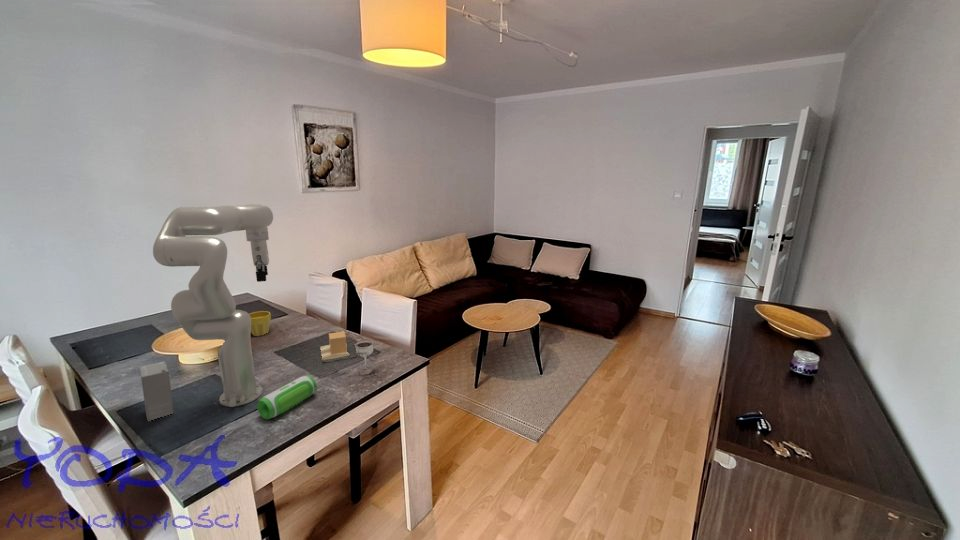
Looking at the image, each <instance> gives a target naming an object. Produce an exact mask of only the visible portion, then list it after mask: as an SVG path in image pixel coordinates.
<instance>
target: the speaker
mask: <svg viewBox="0 0 960 540" xmlns="http://www.w3.org/2000/svg"><path fill="white" fill-rule="evenodd" d="M317 387H318V386H317V381H316V380H315V379H314V378H313V377H312V376H311V375H304V376H301V377H298V378H297V379H295V380H292V381H291V382H288V383H287V384H285V385H283V386H281V387H279V388H278V389H276V390H274V391H271V392H270V393H268V394H266V395H264V396H263V397H261V398H260V399H259V400H258V401H257V404H256V407H257V408H256V409H257V412H258V414H259V415H260V416H261V417H262V418H263V419H265V420H269V419H273V418H275V417H277V416H279V415H281V414H284V413H285V411H286V412H287V411H289V410H291V409H292V408H294V407H295V405H296V406H298V405H299V404H301V403H302V402H303V401H302V400H304V399H305V400H306V399H307V398H310V397H311V396H312V395H313V394H314V393H315V392H316V390H317ZM305 400H304V401H305ZM301 401H302V402H301ZM300 402H301V403H300ZM298 403H299V404H298ZM293 406H294V407H293ZM290 408H291V409H290Z"/></svg>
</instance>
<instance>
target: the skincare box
mask: <svg viewBox="0 0 960 540" xmlns="http://www.w3.org/2000/svg"><path fill="white" fill-rule="evenodd" d="M139 372H140V380H141V387H142V393H143V394H142V395H143V401H144V408H145V416H146V420H147V422H149V421H150V422H152V421H151V420H153V421H155V420H154V419H157V418H160V417H163V418H165V417H164V416H166V417H168V416H167V415H169V416H171V415H170V414H172V413H174V406H173V398H172V396H173V395H172V387H171V379H170V375H169V374H170V373H169V370H168V365H167V363H166V361H165V360H164V361H160V362H155V363H151V364H145V365H141V366H139ZM172 415H173V414H172ZM160 419H161V418H160ZM157 420H158V419H157Z"/></svg>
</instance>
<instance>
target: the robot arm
mask: <svg viewBox="0 0 960 540" xmlns="http://www.w3.org/2000/svg"><path fill="white" fill-rule="evenodd" d="M273 221H274V214H273V211H272V209H271V208H270V207H269V206H267V205H262V204H245V205H221V206H209V207H207V206H205V207H202V206H201V207H200V206H199V207H194V206H193V207H192V206H191V207H190V206H188V207H187V206H185V207H183V206H181V207H180V206H179V207H177V208H174V209H173V210H172V211H171V212H170V214H169V215H168V216H167V218H166V219H165V221H164V222H163V225H162V226H161V229H160V231H159V232H158V235H157V237H156V239H155V240H154V243H153V246H152V256H153V258H154V260H155V261H156V263H158V264H159V265H161V266H164V267H170V268H171V267H174V268H175V267H199V268H198V270H197V271H196V272H195V273H194V274H193V275H192V277H191V278H190V280H189V282H188V289H184V290H180V291H179V292H177V293H175V295H174V296H173V297H172V299H171V304H170V310H171V313H172V315H173V318H174V319H175V321H176V322H177V324H179V326H180V327H181V328H182V329H183V330H184V332H185V333H186V334H187V335H188V336H189V337H190V338H191V339H192V340H195V341H213V340H223V341H225V342H224V343H223V345H222V346H221V347H220V349H219V351H218V358H217V359H218V364H219V371H220V376H221V377H220V378H221V385H222V390H223V393H221V395H220V396H219V398H218V399H219V403H220V405H222V406H224V407H229V408H234V407H240V406H243V405H246V404H249V403H252V402H254V401H256V399H258V398H259V397H260V396H261V395H262V394H263V387H262V386H261V385H260V384H257V380H256V373H255V365H254V358H253V350H252V343H251V341H252V340H251V333H252V332H251V317H250V315H249V314H250V313H248V312H247V311H245V310H243V309H242V310H241V309H236V308H237V307H236V306H237V305H236V301H235V299H234V297H233V295H232V294H231V291H230V289H229V288H228V286H227V284H226V282H225V280H224V274H225V270H226V264H227V258H228V247H227V245H226V242H225V241H224V240H222V239H221V238H218V237H215V236H217V235H218V236H219V235H222V234H227V233H231V232H240V231H245V237H246V241H247V242H250V248H251V256H252V263H253V266H254V267H255V276H256V282H259V283H260V282H267V276H268V275H269V272H268V265H269V263H270V257H269V249H268V244H267V241H269V238H270V237H269V230H268V227H269V226H270V225H271V224H272V223H273Z"/></svg>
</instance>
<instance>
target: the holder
mask: <svg viewBox="0 0 960 540" xmlns="http://www.w3.org/2000/svg"><path fill="white" fill-rule="evenodd" d="M319 349H320V350H321V351H320V355H321V356H322V357H321V362H322V361H326V360H332V359H336V358H340V357H345V356H349V355H350V354H349V353H348V352H343V353H337V354H331V351H330V344H325V345H321V346H319Z"/></svg>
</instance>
